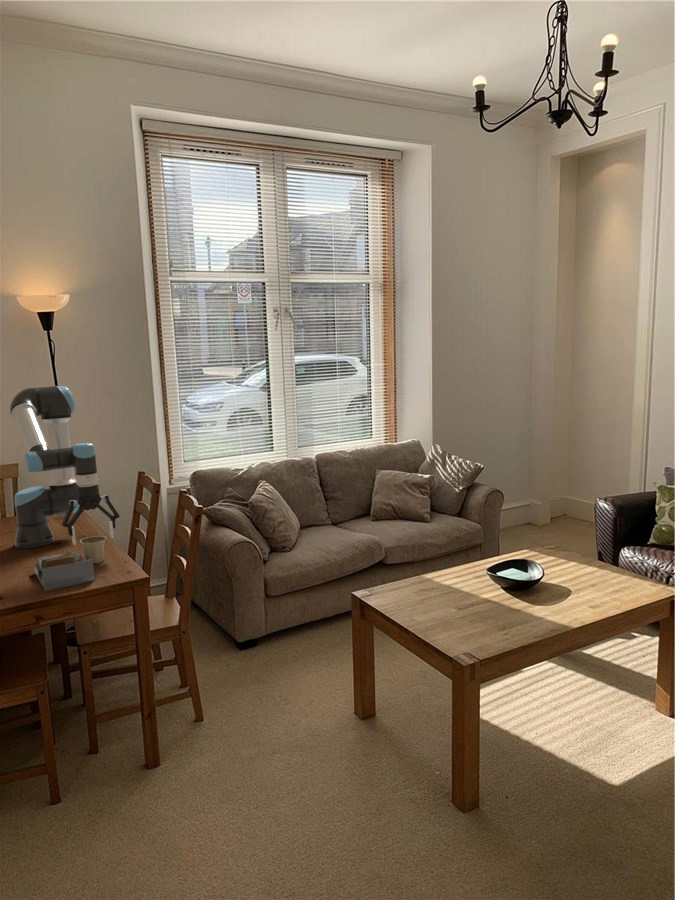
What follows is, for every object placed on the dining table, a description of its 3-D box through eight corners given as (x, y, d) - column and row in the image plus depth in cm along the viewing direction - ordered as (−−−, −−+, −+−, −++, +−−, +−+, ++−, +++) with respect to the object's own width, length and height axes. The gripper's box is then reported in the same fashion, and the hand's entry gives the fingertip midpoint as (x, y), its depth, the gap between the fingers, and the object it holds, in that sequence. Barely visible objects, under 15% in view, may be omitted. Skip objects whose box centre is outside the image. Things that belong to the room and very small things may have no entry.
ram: (40, 568, 237) (39, 557, 237) (77, 561, 244) (76, 550, 243) (42, 571, 234) (41, 561, 233) (79, 564, 240) (78, 553, 240)
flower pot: (112, 557, 254) (110, 535, 252) (101, 565, 244) (99, 543, 243) (89, 557, 255) (87, 536, 253) (77, 565, 245) (75, 543, 244)
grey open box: (34, 573, 239) (32, 553, 237) (81, 564, 247) (79, 544, 246) (45, 591, 220) (42, 569, 219) (94, 580, 228) (92, 559, 227)
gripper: (53, 491, 235) (59, 549, 238) (124, 481, 248) (129, 536, 251) (49, 488, 241) (56, 544, 244) (119, 478, 255) (124, 532, 258)
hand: (93, 540), depth 248 cm, fingers open, 13 cm apart
